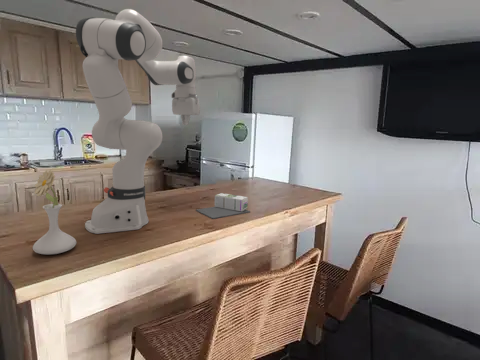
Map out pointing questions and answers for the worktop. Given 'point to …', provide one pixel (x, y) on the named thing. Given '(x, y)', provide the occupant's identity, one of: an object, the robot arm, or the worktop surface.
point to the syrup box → (231, 202)
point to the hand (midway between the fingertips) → (185, 125)
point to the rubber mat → (219, 212)
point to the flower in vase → (51, 221)
